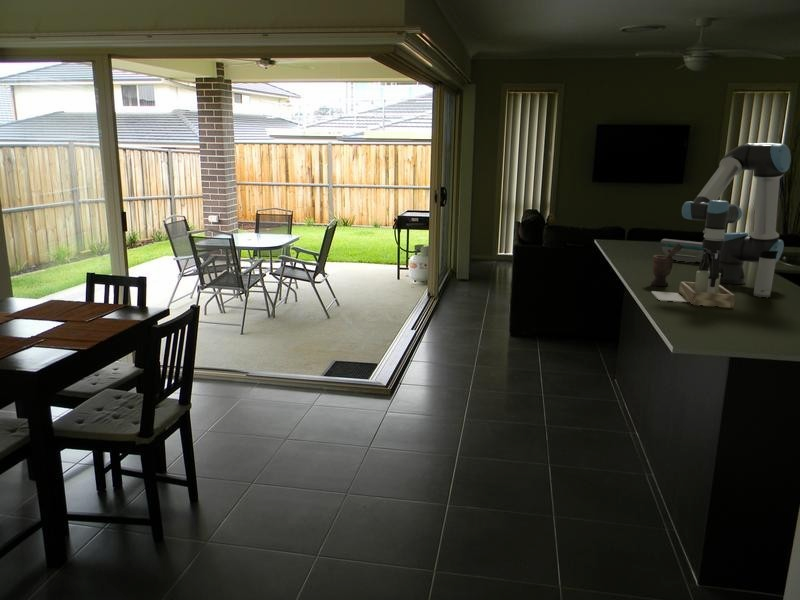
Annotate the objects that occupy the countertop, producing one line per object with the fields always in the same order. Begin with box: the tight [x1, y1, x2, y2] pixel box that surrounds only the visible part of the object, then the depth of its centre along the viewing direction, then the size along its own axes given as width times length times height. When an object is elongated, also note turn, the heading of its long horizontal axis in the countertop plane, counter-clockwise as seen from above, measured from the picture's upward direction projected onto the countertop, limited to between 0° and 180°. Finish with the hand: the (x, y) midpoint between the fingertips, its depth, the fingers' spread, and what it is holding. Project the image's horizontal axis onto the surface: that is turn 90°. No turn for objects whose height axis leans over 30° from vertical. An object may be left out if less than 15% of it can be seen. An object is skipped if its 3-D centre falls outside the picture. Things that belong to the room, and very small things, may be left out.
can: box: [694, 270, 721, 294], centre depth 265 cm, size 9×9×12 cm
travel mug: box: [753, 251, 778, 299], centre depth 275 cm, size 6×7×20 cm
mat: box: [651, 290, 689, 303], centre depth 269 cm, size 11×16×1 cm
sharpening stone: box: [660, 238, 704, 263], centre depth 362 cm, size 25×8×11 cm, turn 57°
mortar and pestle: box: [650, 243, 683, 287], centre depth 291 cm, size 12×9×20 cm
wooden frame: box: [678, 281, 736, 309], centre depth 266 cm, size 15×22×5 cm
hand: (705, 291), depth 265 cm, fingers open, 12 cm apart
